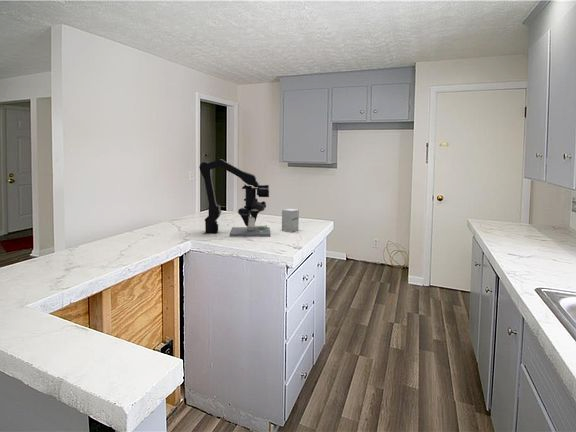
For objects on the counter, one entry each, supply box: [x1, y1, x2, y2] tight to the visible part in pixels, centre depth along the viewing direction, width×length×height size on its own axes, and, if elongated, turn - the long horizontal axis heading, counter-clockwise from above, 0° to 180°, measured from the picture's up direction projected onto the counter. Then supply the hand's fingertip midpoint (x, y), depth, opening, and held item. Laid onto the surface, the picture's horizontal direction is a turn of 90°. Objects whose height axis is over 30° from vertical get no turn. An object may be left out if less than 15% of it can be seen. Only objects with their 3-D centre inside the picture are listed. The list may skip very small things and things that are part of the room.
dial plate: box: [229, 225, 271, 238], centre depth 208 cm, size 22×17×3 cm
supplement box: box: [281, 208, 300, 233], centre depth 216 cm, size 7×7×13 cm
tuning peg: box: [246, 215, 268, 231], centre depth 209 cm, size 12×6×8 cm, turn 114°
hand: (250, 224), depth 207 cm, fingers open, 9 cm apart
